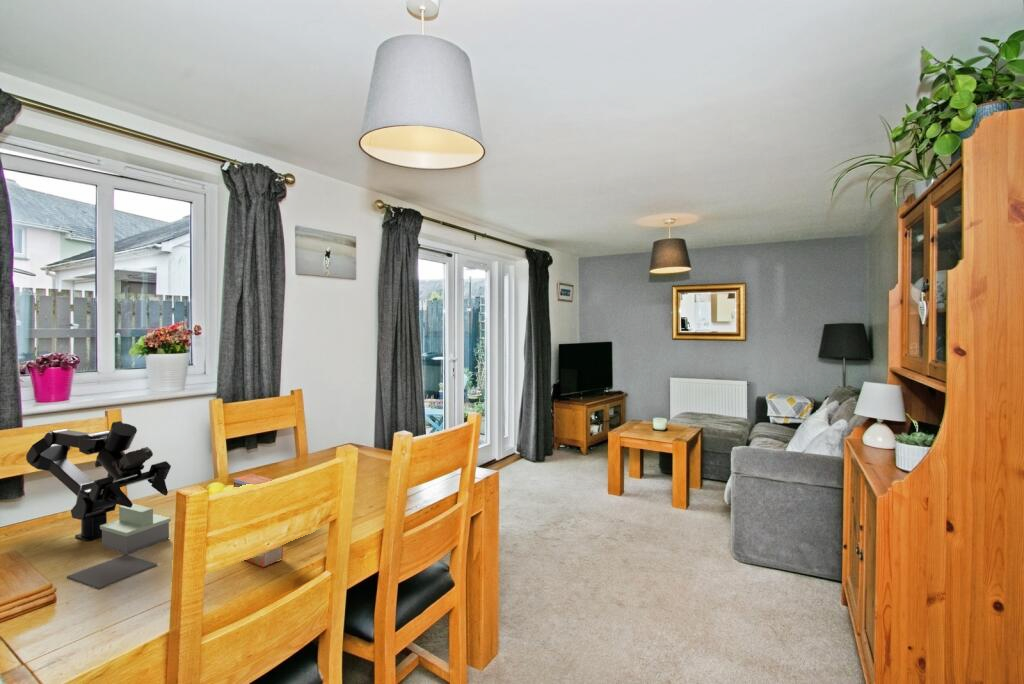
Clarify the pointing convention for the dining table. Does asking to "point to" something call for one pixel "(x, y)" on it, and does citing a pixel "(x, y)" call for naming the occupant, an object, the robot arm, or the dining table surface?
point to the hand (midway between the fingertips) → (149, 500)
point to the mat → (111, 571)
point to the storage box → (135, 539)
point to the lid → (134, 520)
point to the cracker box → (272, 554)
